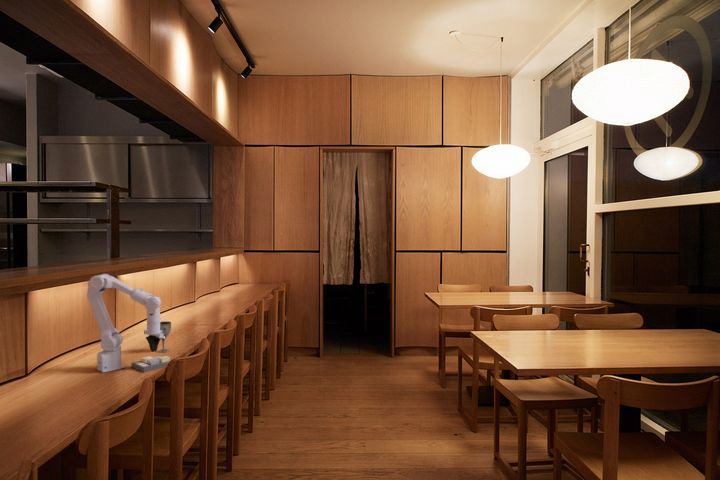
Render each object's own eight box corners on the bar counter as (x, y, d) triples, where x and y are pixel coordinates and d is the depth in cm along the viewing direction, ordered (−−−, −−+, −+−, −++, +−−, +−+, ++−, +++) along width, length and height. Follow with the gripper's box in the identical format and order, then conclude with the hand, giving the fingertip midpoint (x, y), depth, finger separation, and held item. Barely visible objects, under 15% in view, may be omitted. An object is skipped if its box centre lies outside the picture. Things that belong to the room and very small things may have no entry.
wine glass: (151, 351, 238) (151, 323, 238) (164, 348, 245) (164, 320, 245) (162, 353, 234) (161, 325, 234) (174, 350, 241) (174, 322, 241)
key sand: (161, 363, 212) (161, 359, 212) (157, 361, 215) (157, 357, 215) (170, 361, 216) (169, 357, 216) (165, 359, 218) (165, 355, 218)
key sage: (156, 363, 216) (156, 359, 216) (152, 362, 218) (152, 358, 218) (164, 361, 219) (164, 357, 219) (160, 360, 221) (160, 356, 221)
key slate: (151, 366, 208) (151, 361, 208) (146, 364, 211) (146, 360, 211) (159, 364, 212) (159, 359, 211) (155, 362, 214) (155, 358, 214)
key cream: (145, 363, 212) (145, 359, 212) (141, 362, 214) (141, 358, 214) (153, 361, 215) (153, 357, 215) (149, 360, 217) (149, 356, 217)
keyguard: (144, 372, 204) (144, 367, 204) (131, 367, 212) (131, 362, 212) (174, 364, 216) (174, 359, 216) (161, 359, 223) (161, 355, 223)
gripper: (169, 323, 211) (170, 351, 211) (153, 319, 219) (154, 346, 220) (155, 325, 205) (155, 355, 205) (139, 321, 214) (139, 350, 214)
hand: (153, 351), depth 212 cm, fingers closed
